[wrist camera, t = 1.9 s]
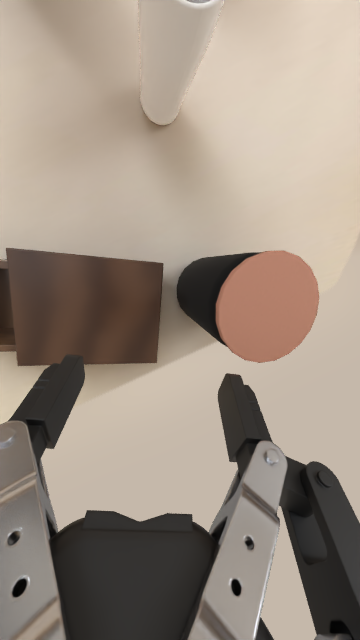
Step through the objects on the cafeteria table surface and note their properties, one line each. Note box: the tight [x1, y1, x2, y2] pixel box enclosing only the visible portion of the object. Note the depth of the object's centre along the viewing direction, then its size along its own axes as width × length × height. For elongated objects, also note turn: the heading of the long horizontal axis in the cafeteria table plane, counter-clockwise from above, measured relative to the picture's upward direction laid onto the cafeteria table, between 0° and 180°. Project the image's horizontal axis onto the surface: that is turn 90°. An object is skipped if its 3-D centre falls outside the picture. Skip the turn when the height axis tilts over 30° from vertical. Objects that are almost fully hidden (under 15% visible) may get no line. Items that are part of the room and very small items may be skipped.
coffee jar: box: [177, 251, 319, 363], centre depth 28 cm, size 11×11×18 cm
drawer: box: [0, 259, 16, 351], centre depth 25 cm, size 19×11×8 cm, turn 86°
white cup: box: [138, 0, 225, 125], centre depth 21 cm, size 7×7×15 cm
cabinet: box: [6, 248, 163, 366], centre depth 28 cm, size 16×13×10 cm
